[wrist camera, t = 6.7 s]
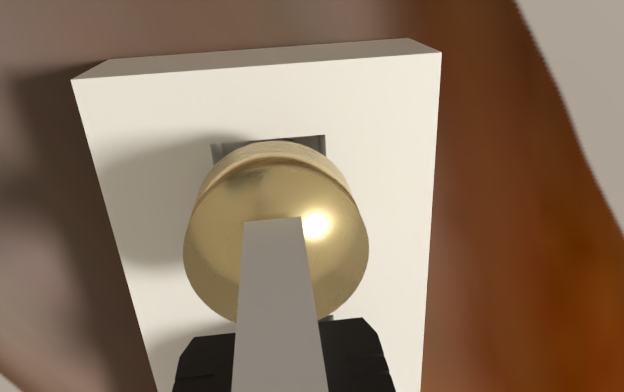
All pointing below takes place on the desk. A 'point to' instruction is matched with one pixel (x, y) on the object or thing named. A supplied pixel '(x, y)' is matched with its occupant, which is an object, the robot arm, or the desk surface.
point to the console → (260, 126)
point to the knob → (272, 205)
